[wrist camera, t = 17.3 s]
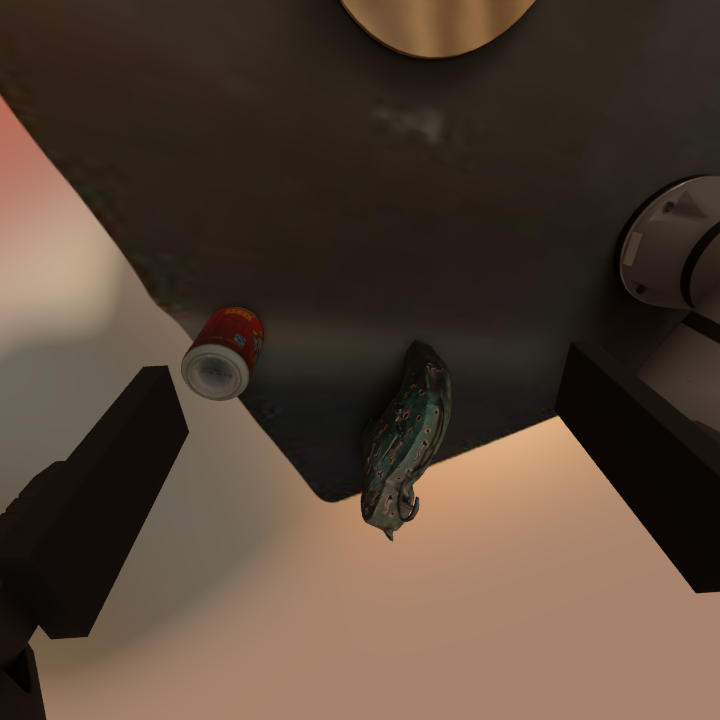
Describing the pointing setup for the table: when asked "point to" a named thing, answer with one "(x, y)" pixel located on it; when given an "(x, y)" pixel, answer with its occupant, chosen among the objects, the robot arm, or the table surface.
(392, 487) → the ceramic cat
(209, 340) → the soda can
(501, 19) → the wooden round stand
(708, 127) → the table surface
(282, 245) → the table surface
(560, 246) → the table surface
